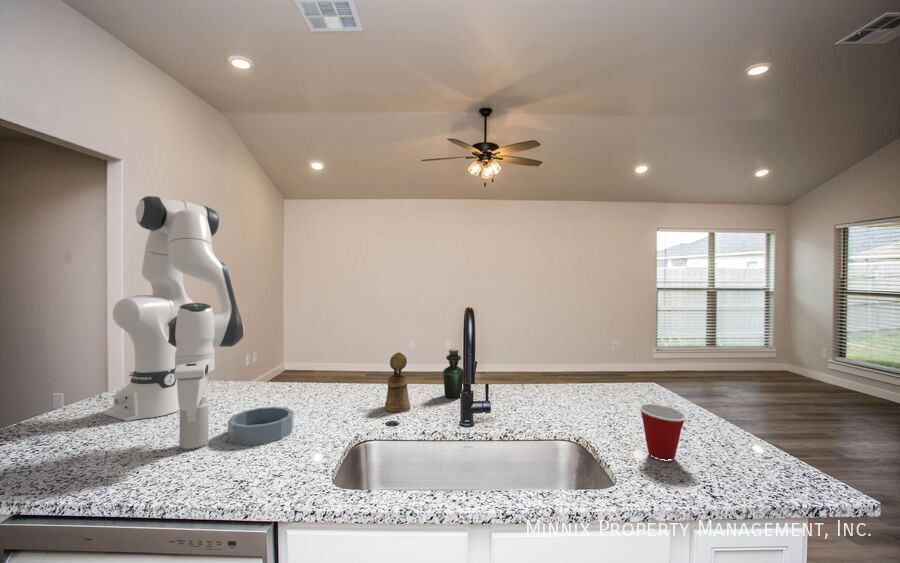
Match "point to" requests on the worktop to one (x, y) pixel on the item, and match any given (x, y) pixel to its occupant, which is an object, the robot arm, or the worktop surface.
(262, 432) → the bowl
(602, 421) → the worktop surface
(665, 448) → the plastic cup
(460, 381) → the potion bottle
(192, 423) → the beverage can
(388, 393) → the wooden bell
